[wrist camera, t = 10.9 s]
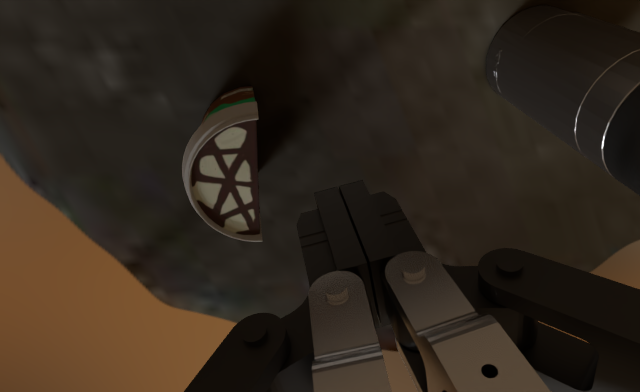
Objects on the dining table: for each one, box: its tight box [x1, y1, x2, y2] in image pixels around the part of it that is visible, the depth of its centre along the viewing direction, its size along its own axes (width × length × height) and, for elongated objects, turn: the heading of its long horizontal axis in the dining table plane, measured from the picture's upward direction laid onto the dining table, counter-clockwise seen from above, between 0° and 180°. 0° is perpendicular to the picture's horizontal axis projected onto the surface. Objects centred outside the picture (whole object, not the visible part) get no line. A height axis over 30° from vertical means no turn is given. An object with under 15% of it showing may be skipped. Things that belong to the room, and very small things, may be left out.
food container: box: [182, 86, 262, 242], centre depth 41 cm, size 12×6×10 cm, turn 177°
